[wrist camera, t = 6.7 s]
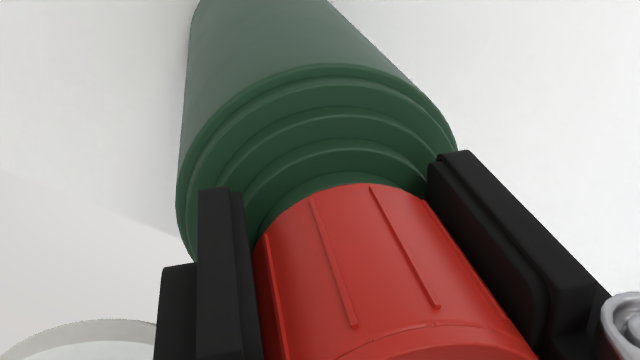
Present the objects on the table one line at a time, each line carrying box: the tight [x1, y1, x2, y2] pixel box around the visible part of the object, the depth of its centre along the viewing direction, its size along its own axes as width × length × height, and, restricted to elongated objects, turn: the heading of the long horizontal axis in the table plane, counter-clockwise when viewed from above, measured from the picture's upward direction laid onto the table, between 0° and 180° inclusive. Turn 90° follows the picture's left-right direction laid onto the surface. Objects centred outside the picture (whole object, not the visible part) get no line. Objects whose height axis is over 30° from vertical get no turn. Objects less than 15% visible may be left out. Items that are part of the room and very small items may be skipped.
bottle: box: [175, 0, 458, 262], centre depth 16 cm, size 6×6×20 cm
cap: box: [251, 183, 540, 360], centre depth 8 cm, size 4×4×4 cm
